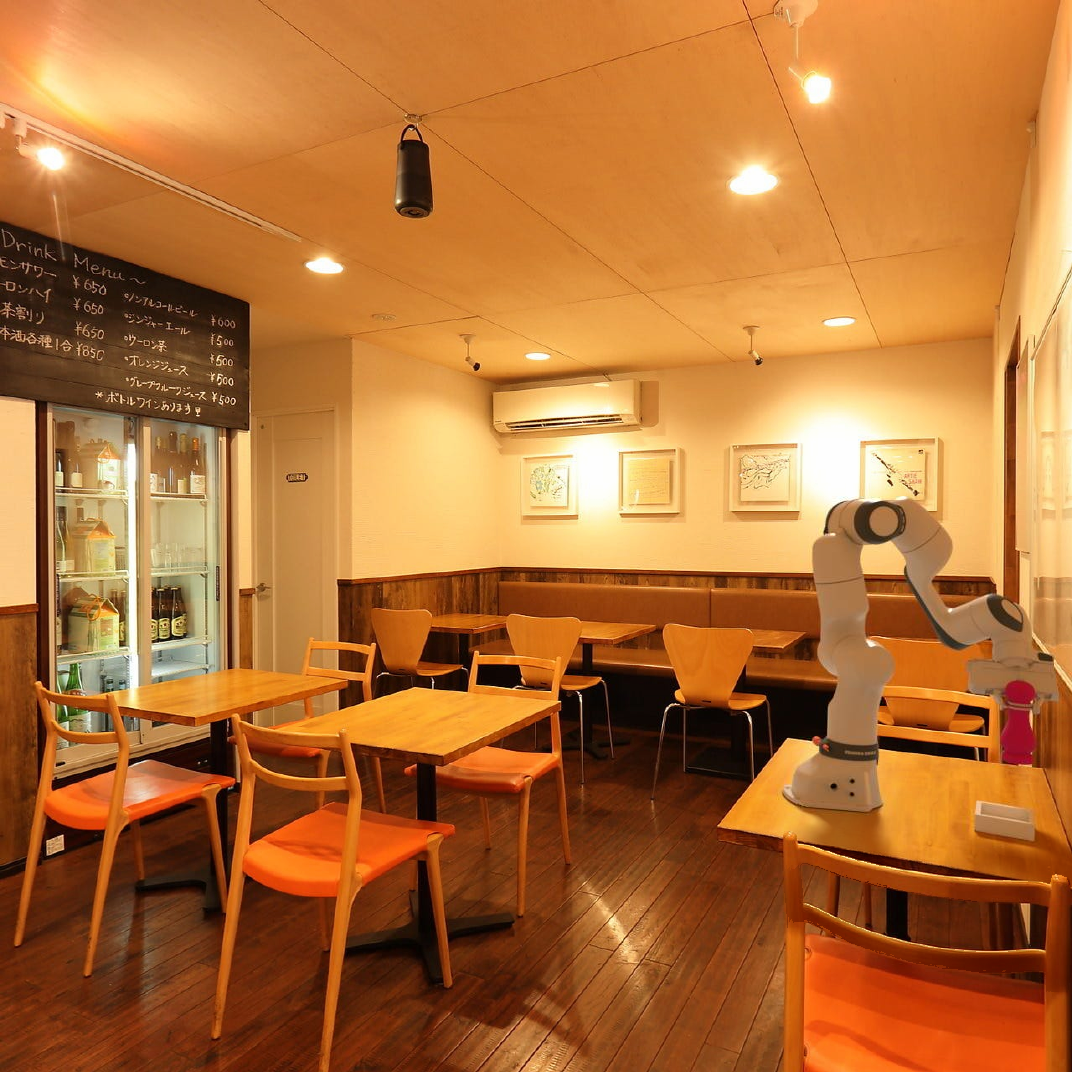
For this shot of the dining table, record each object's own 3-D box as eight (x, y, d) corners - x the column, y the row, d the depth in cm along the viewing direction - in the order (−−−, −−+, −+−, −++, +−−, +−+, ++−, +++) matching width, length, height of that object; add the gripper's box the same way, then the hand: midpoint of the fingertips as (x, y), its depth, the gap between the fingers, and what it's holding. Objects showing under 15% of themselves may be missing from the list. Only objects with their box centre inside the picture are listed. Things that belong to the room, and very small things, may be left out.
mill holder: (974, 830, 175) (974, 814, 175) (976, 815, 185) (976, 800, 185) (1034, 841, 170) (1034, 824, 170) (1032, 825, 179) (1033, 809, 179)
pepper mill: (1041, 767, 182) (1044, 677, 182) (1006, 764, 184) (1009, 675, 183) (1028, 758, 189) (1031, 672, 189) (994, 755, 191) (997, 670, 190)
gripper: (966, 650, 197) (969, 697, 188) (1066, 657, 189) (1074, 707, 180) (964, 666, 201) (967, 713, 192) (1061, 673, 193) (1069, 723, 184)
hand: (1019, 710), depth 186 cm, fingers closed on pepper mill, 5 cm apart
